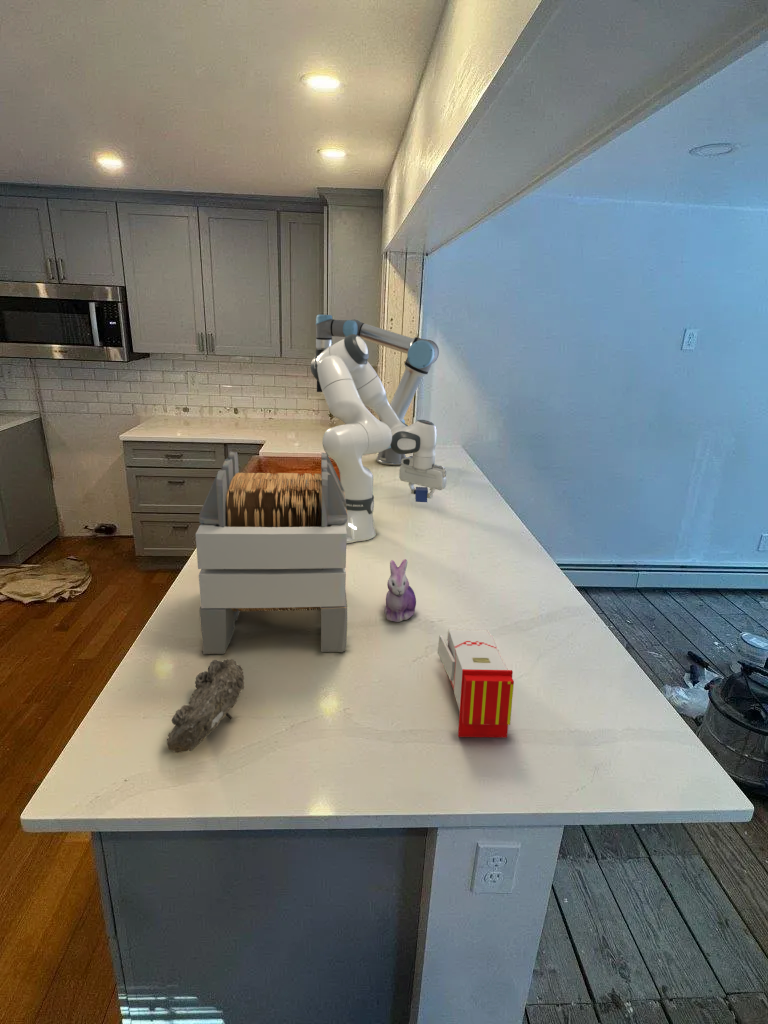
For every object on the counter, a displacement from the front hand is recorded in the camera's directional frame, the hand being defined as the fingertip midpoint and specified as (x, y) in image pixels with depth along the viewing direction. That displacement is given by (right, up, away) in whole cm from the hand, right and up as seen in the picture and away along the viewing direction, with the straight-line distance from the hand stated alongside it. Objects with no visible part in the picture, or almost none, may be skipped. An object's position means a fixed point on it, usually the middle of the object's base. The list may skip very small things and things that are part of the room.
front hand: (421, 495), depth 225 cm
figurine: (-11, -33, -78) cm, 85 cm away
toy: (+3, -44, -107) cm, 116 cm away
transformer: (-41, -33, -82) cm, 97 cm away
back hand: (-44, +51, +51) cm, 85 cm away
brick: (0, -2, +1) cm, 2 cm away
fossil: (-48, -46, -117) cm, 134 cm away
